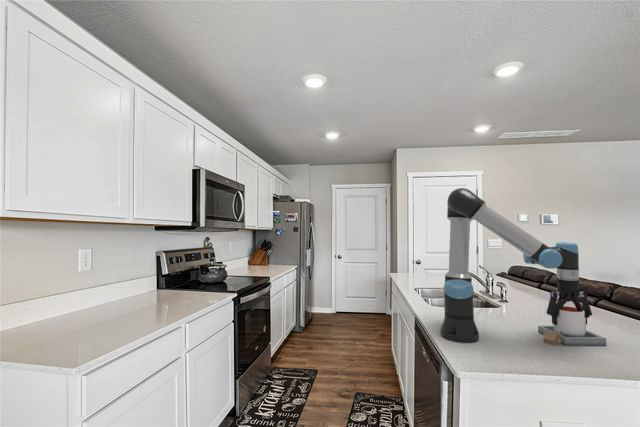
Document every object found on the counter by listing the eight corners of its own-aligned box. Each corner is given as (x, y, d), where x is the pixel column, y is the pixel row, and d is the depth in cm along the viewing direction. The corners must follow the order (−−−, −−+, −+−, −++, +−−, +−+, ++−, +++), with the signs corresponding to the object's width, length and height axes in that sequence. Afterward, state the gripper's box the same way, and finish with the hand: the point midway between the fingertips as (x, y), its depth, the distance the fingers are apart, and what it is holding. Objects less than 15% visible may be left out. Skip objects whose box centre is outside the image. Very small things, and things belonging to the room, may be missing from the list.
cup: (591, 337, 128) (590, 312, 129) (562, 336, 130) (562, 311, 131) (576, 330, 138) (575, 306, 138) (550, 328, 140) (549, 305, 140)
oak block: (553, 345, 127) (553, 335, 127) (543, 342, 130) (543, 332, 131) (560, 344, 128) (560, 334, 128) (550, 341, 132) (550, 331, 132)
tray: (565, 345, 126) (565, 338, 126) (538, 332, 142) (538, 325, 142) (606, 345, 126) (605, 338, 126) (574, 332, 142) (574, 325, 142)
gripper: (547, 280, 131) (548, 335, 131) (602, 280, 131) (604, 335, 130) (535, 277, 139) (536, 329, 138) (587, 277, 139) (589, 329, 138)
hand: (569, 332), depth 134 cm, fingers closed on cup, 10 cm apart
